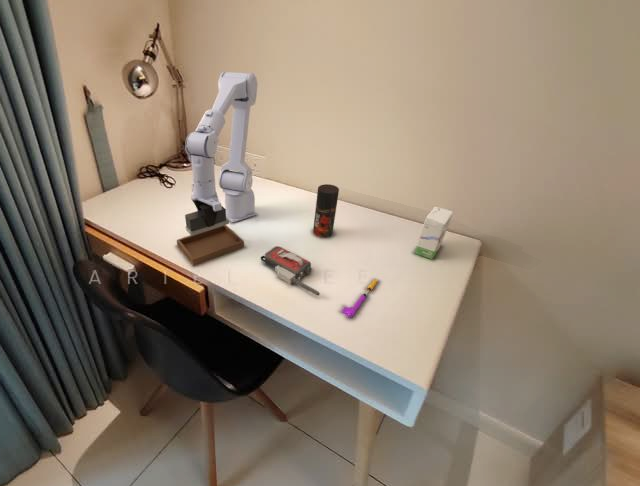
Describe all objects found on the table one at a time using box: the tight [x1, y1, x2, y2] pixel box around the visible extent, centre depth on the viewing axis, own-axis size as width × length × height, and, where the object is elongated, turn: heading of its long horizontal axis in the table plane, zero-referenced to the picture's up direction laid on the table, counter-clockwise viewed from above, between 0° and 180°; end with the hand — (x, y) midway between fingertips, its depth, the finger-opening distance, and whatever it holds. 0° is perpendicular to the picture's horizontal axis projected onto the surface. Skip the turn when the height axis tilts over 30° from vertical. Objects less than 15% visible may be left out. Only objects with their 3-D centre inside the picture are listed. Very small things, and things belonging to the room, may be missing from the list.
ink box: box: [414, 206, 454, 260], centre depth 98 cm, size 8×5×12 cm, turn 140°
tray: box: [176, 224, 245, 267], centre depth 104 cm, size 16×11×2 cm
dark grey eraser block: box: [184, 205, 230, 236], centre depth 99 cm, size 12×4×5 cm, turn 121°
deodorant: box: [312, 183, 340, 239], centre depth 105 cm, size 6×6×15 cm
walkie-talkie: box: [260, 246, 320, 296], centre depth 92 cm, size 9×4×20 cm
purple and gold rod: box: [341, 279, 378, 318], centre depth 85 cm, size 3×1×16 cm
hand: (207, 222), depth 100 cm, fingers closed on dark grey eraser block, 3 cm apart
